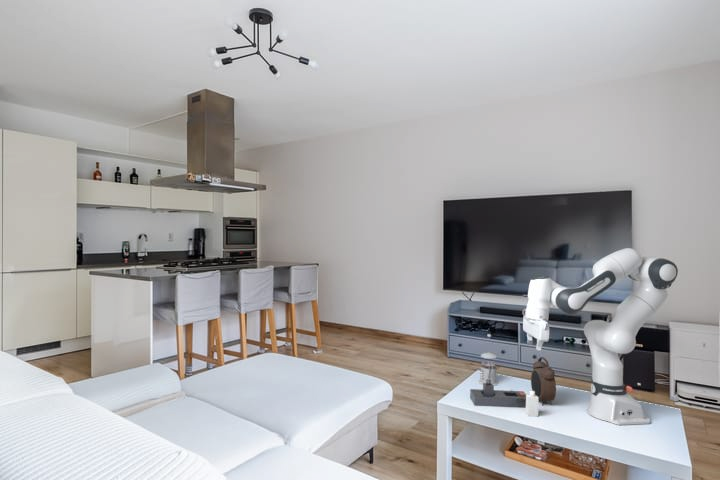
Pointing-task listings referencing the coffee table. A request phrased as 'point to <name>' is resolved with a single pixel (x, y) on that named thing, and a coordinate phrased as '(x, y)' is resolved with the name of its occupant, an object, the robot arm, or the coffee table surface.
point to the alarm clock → (543, 381)
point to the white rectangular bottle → (532, 404)
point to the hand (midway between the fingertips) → (533, 347)
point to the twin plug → (488, 388)
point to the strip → (499, 398)
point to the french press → (488, 369)
